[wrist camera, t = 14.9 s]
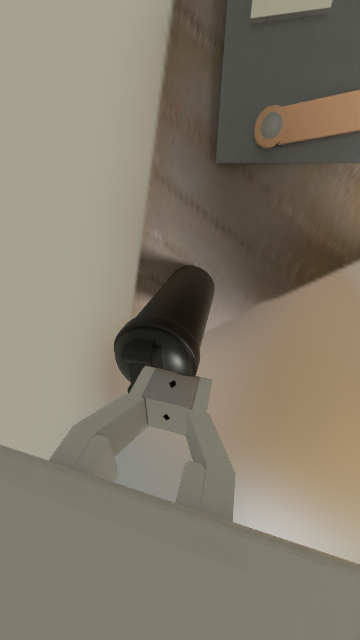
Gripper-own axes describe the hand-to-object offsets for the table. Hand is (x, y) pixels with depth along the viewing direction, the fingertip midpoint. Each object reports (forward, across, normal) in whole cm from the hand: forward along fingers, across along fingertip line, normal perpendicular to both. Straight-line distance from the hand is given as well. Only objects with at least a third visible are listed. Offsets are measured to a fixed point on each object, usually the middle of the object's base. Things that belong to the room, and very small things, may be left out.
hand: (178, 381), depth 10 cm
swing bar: (+29, -10, -12) cm, 33 cm away
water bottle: (+31, +6, +11) cm, 33 cm away
